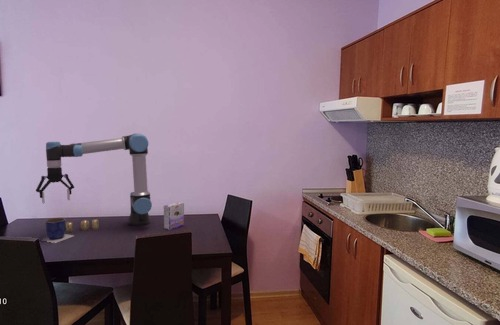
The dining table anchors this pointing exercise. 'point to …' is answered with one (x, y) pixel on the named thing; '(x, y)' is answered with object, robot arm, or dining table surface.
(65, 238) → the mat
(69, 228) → the brass tin
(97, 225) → the brass tin
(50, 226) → the planter
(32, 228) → the dining table surface
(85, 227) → the brass tin
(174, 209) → the candy box
